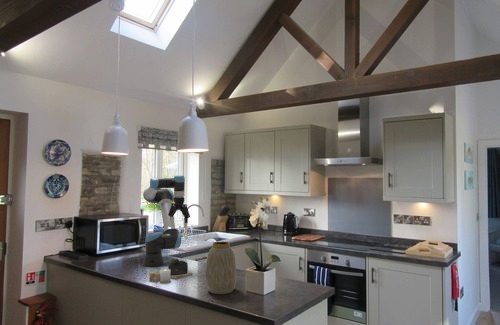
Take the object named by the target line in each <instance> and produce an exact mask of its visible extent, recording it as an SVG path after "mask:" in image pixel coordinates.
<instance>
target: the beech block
mask: <svg viewBox="0 0 500 325" xmlns="http://www.w3.org/2000/svg"><path fill="white" fill-rule="evenodd" d="M148 276H149V279H148V281H149V282H152V281H153V283H157V282H160V271H152V272H149V275H148Z"/></svg>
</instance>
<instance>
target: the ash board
mask: <svg viewBox="0 0 500 325" xmlns="http://www.w3.org/2000/svg"><path fill="white" fill-rule="evenodd" d="M192 275H193V272H190V271H188V272H187V273H185V274H177V275H170V280H178V279H181V278H185V277H188V276H192Z"/></svg>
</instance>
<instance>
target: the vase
mask: <svg viewBox="0 0 500 325" xmlns="http://www.w3.org/2000/svg"><path fill="white" fill-rule="evenodd" d="M230 245H231V244H230V242H229V241H215V242H212V247H211V248H210V249H209V251H208V253H207V256H206V264H205V266H206V267H205V284H206V287H207V290H208V291H209V293H211V294H215V295H227V294H230V293H232V292H233V291H234V289H235V287H236V286H237V262H236V255H235V251H234V249H233V248H232V247H231V246H230Z"/></svg>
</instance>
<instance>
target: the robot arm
mask: <svg viewBox="0 0 500 325" xmlns="http://www.w3.org/2000/svg"><path fill="white" fill-rule="evenodd" d="M185 180H186V179H185V175H174V177H153V178H150V179H149V186H148V188H146V189H145V190H144V191H143V193H142V196H143V199H144V200H145V201H146V202H148V203H151V204H157V206H158V207H160V211H161V212H160V213H161V219H162V224H163V232H161V231H156V232H155V231H154V232H151V233H147V235H146V236H145V241H144V242H145V256H144V258H143V259H144V260H143V262H142V266H144V267H149V268H151V267H152V268H153V267H159V266H163V265H165V260H164V257H163V254H162V252H163V250H171V249H172V250H173V249H178V248H180V247H181V245H182V232H179V230H178V229H177V228H176V225H175V214H176V213H177V211H180V212H181V214H182V216H183V217H184V218H183V229H186V228H188V223H189V222H188V220H189V218H191V215H190V212H189V208H188V204H187V203H186V204H184V203H185V196H186V195H185V193H186V192H185V184H186V183H185ZM172 189H173V190H172Z"/></svg>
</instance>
